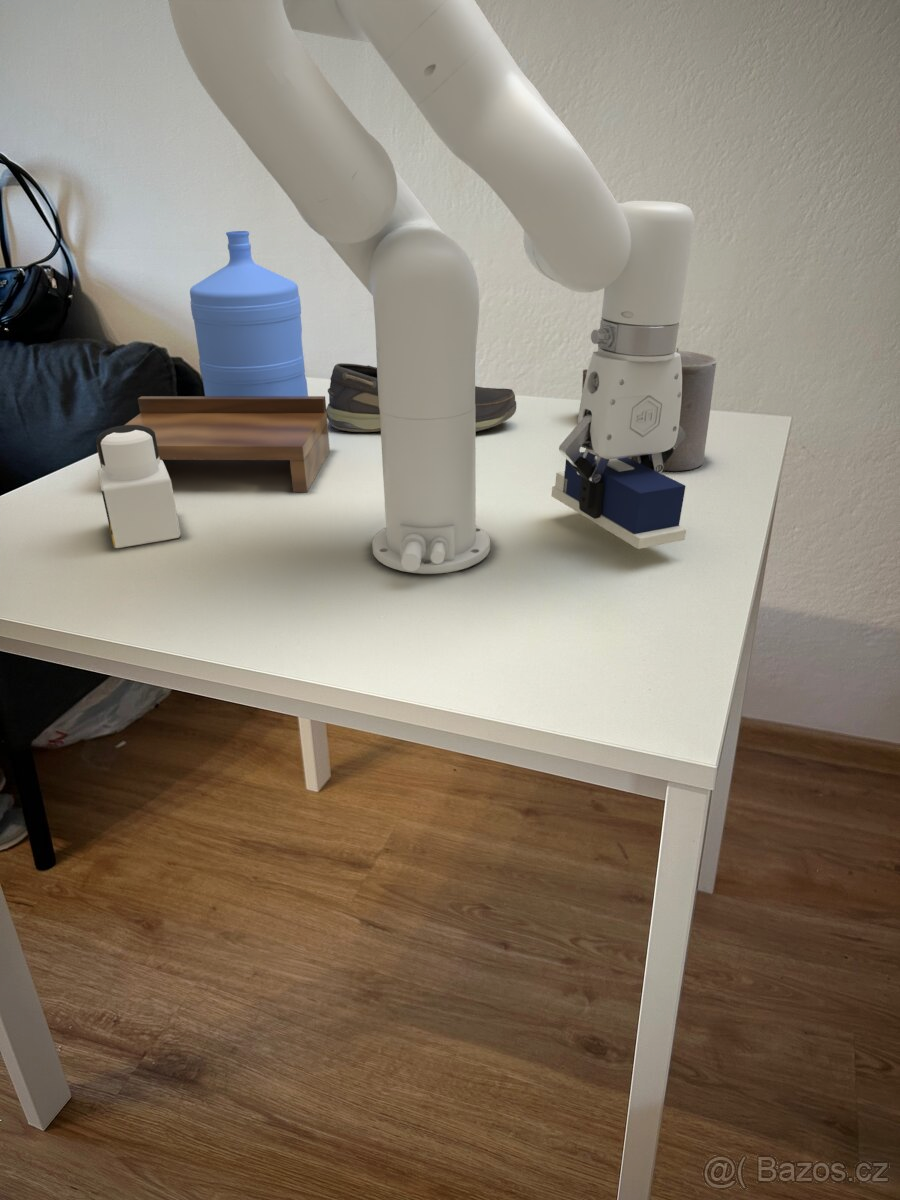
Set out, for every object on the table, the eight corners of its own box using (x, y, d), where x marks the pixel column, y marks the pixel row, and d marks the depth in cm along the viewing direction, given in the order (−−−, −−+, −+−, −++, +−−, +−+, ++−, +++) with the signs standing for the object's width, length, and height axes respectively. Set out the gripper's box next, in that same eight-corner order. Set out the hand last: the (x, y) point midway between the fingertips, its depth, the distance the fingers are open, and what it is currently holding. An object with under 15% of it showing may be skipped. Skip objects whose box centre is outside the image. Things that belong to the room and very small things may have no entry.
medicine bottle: (109, 526, 100) (87, 425, 94) (173, 516, 102) (155, 416, 96) (114, 549, 94) (91, 443, 88) (181, 538, 96) (162, 434, 91)
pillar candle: (625, 467, 115) (635, 353, 108) (637, 445, 123) (647, 338, 116) (700, 475, 112) (715, 358, 105) (707, 452, 120) (722, 342, 113)
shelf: (307, 492, 108) (301, 430, 105) (106, 491, 110) (92, 430, 106) (329, 451, 123) (325, 396, 119) (151, 451, 124) (141, 396, 120)
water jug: (281, 446, 125) (258, 238, 112) (188, 437, 130) (156, 236, 116) (328, 417, 138) (313, 227, 125) (242, 409, 143) (219, 226, 129)
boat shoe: (517, 437, 127) (519, 363, 122) (321, 438, 128) (314, 366, 123) (514, 416, 137) (516, 347, 132) (331, 418, 138) (325, 349, 133)
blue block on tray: (684, 540, 89) (693, 486, 86) (637, 549, 86) (645, 494, 83) (594, 489, 101) (599, 441, 98) (551, 496, 99) (555, 447, 96)
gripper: (587, 352, 78) (568, 534, 87) (730, 341, 85) (700, 510, 94) (542, 336, 84) (529, 508, 93) (680, 327, 91) (656, 488, 100)
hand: (615, 508), depth 93 cm, fingers closed on blue block on tray, 6 cm apart
